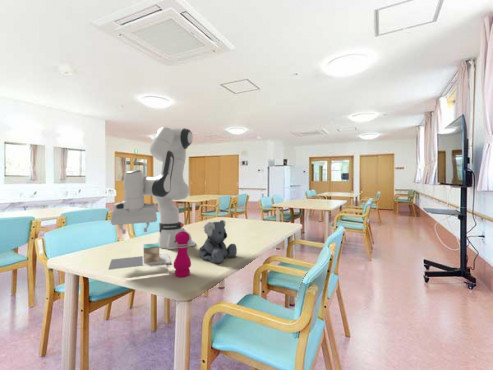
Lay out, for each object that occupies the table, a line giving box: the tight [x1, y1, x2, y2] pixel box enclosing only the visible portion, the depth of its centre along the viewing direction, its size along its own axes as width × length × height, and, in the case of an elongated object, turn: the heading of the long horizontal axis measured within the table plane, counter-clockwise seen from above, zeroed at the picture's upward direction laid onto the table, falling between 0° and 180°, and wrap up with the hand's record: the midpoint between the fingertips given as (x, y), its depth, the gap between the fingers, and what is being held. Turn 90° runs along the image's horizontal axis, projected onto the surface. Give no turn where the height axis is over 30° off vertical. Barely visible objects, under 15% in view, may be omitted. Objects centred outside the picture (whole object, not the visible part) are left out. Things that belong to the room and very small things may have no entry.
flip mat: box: [108, 253, 172, 270], centre depth 123 cm, size 26×15×1 cm, turn 113°
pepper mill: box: [173, 227, 192, 278], centre depth 108 cm, size 7×7×20 cm
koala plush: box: [198, 219, 237, 264], centre depth 132 cm, size 17×18×20 cm
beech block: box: [143, 242, 160, 263], centre depth 124 cm, size 7×7×7 cm
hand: (134, 232), depth 122 cm, fingers open, 8 cm apart
